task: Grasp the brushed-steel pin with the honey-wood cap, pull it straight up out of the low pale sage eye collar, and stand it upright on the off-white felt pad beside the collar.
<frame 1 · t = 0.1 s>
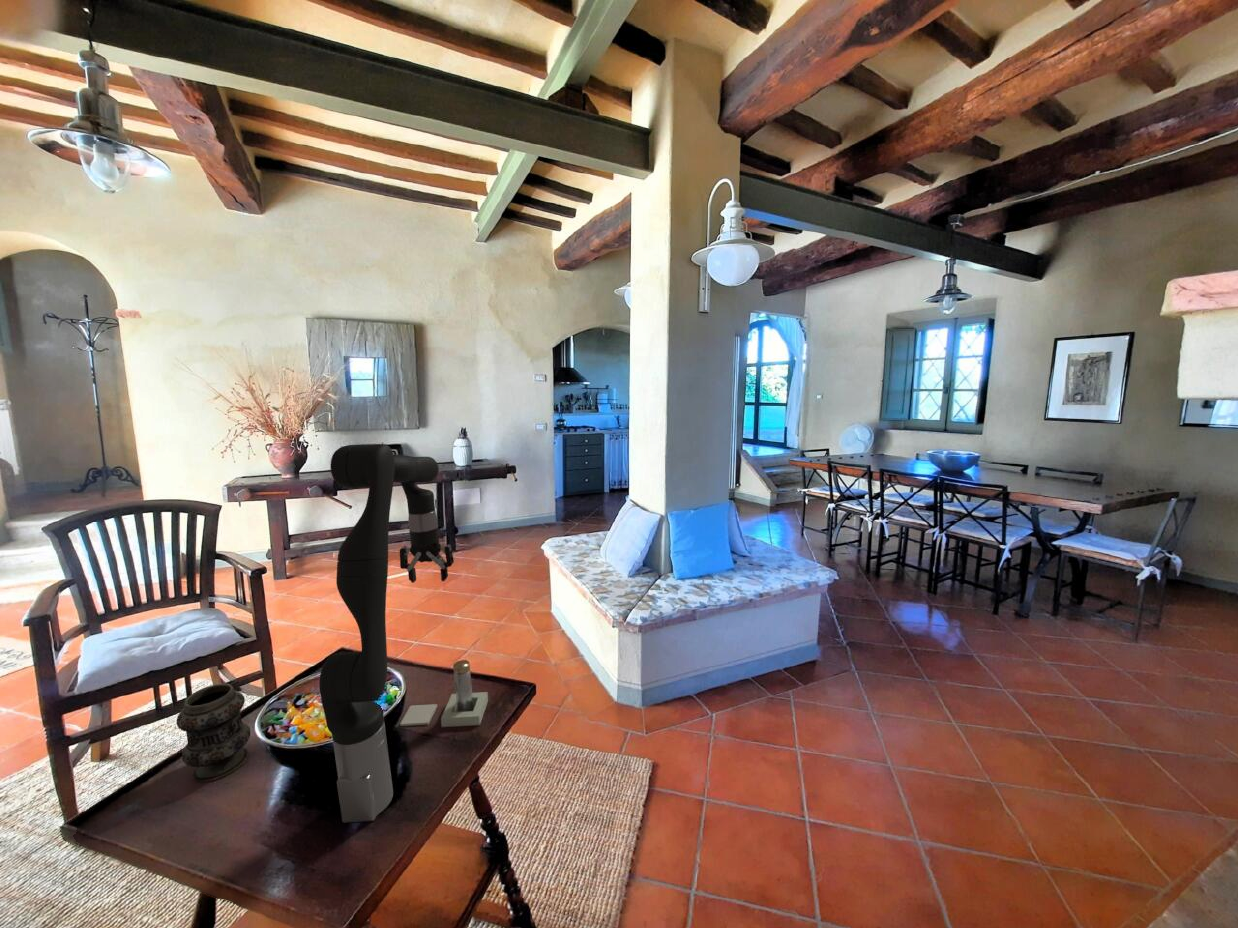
hand: (429, 580, 139), 29 cm above the table, fingers open, 8 cm apart
felt pad: (419, 715, 125), on the table
steel pin: (463, 689, 125), in the eye collar
apothecary jar: (221, 765, 111), on the table
coffee mug: (370, 716, 126), on the table
eye collar: (465, 713, 126), on the table
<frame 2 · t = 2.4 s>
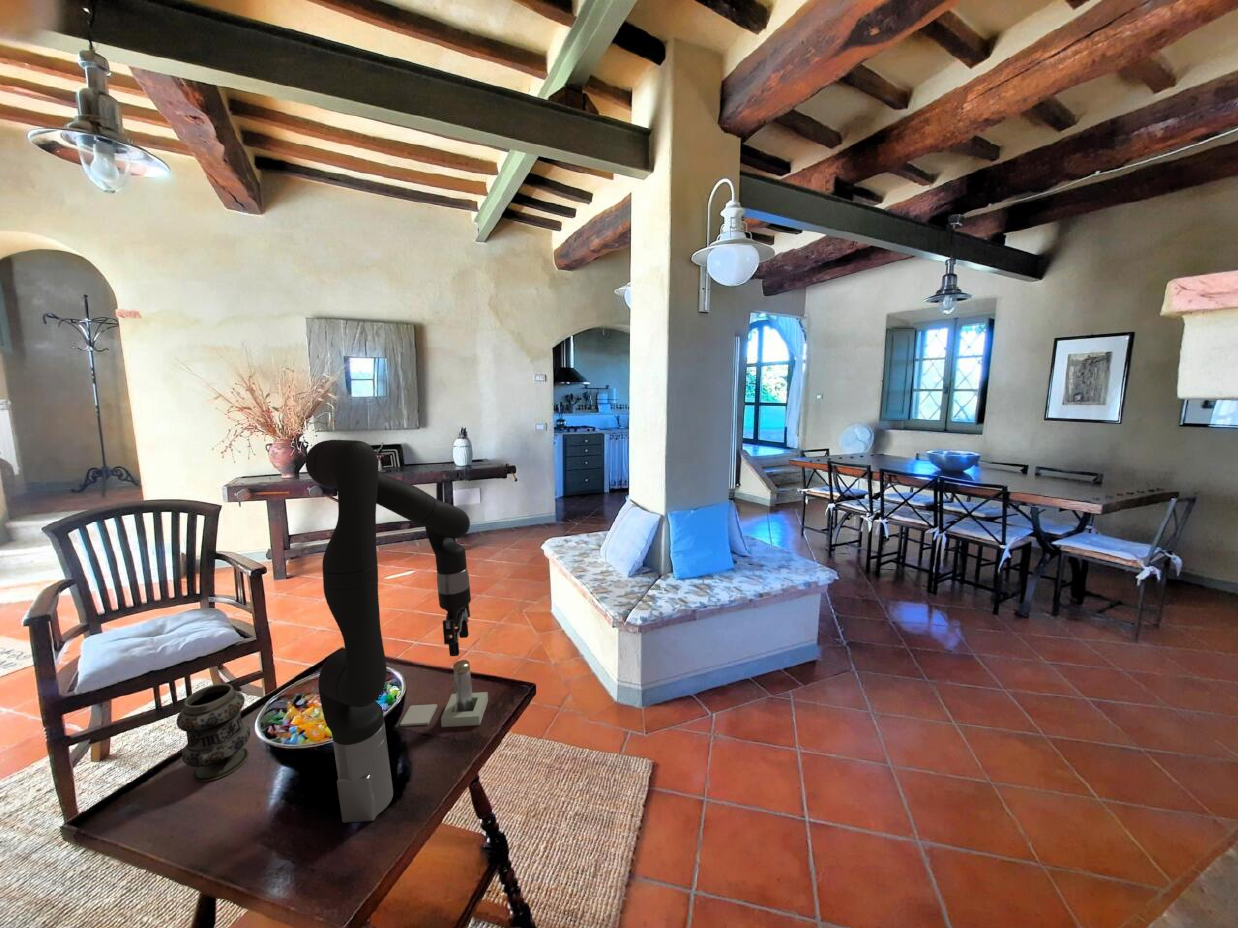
hand: (459, 645, 122), 19 cm above the table, fingers open, 8 cm apart
nothing on the table moved.
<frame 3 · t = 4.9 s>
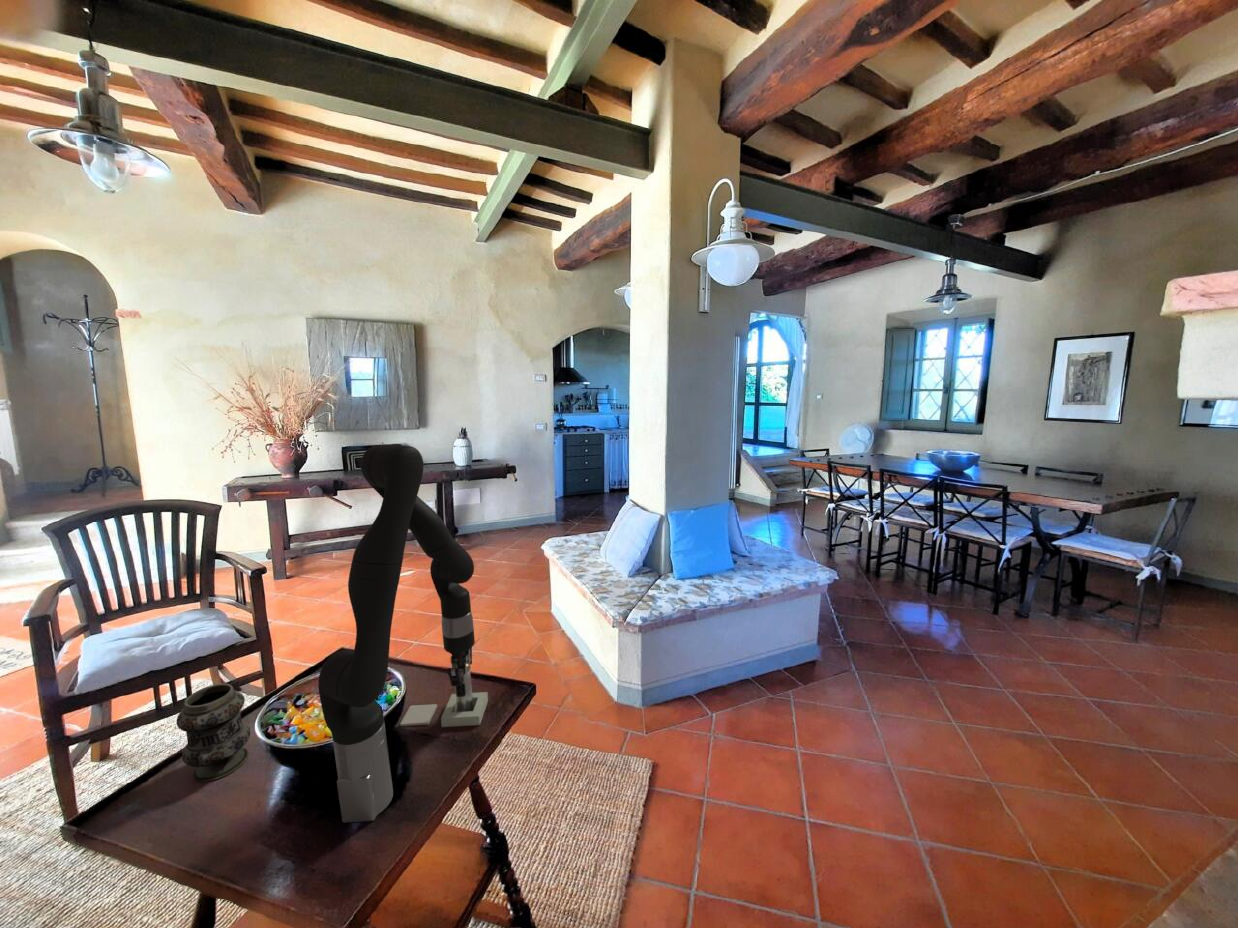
hand: (463, 689, 125), 7 cm above the table, fingers closed on steel pin, 4 cm apart
steel pin: (463, 688, 125), in the eye collar, touching gripper
everything else where it was.
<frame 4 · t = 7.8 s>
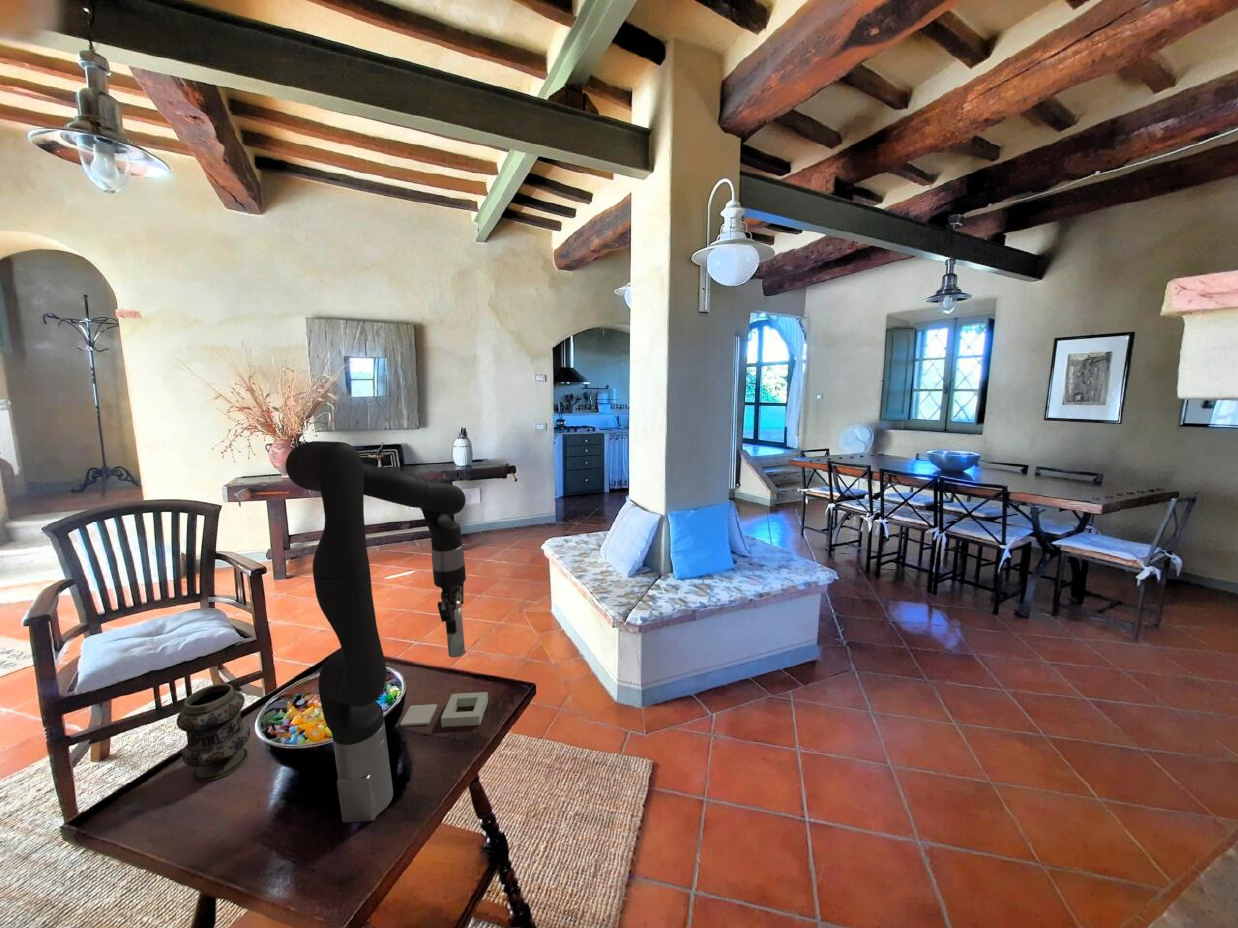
hand: (454, 628, 121), 24 cm above the table, fingers closed on steel pin, 4 cm apart
steel pin: (454, 627, 121), point 24 cm above the table, touching gripper
everything else where it was.
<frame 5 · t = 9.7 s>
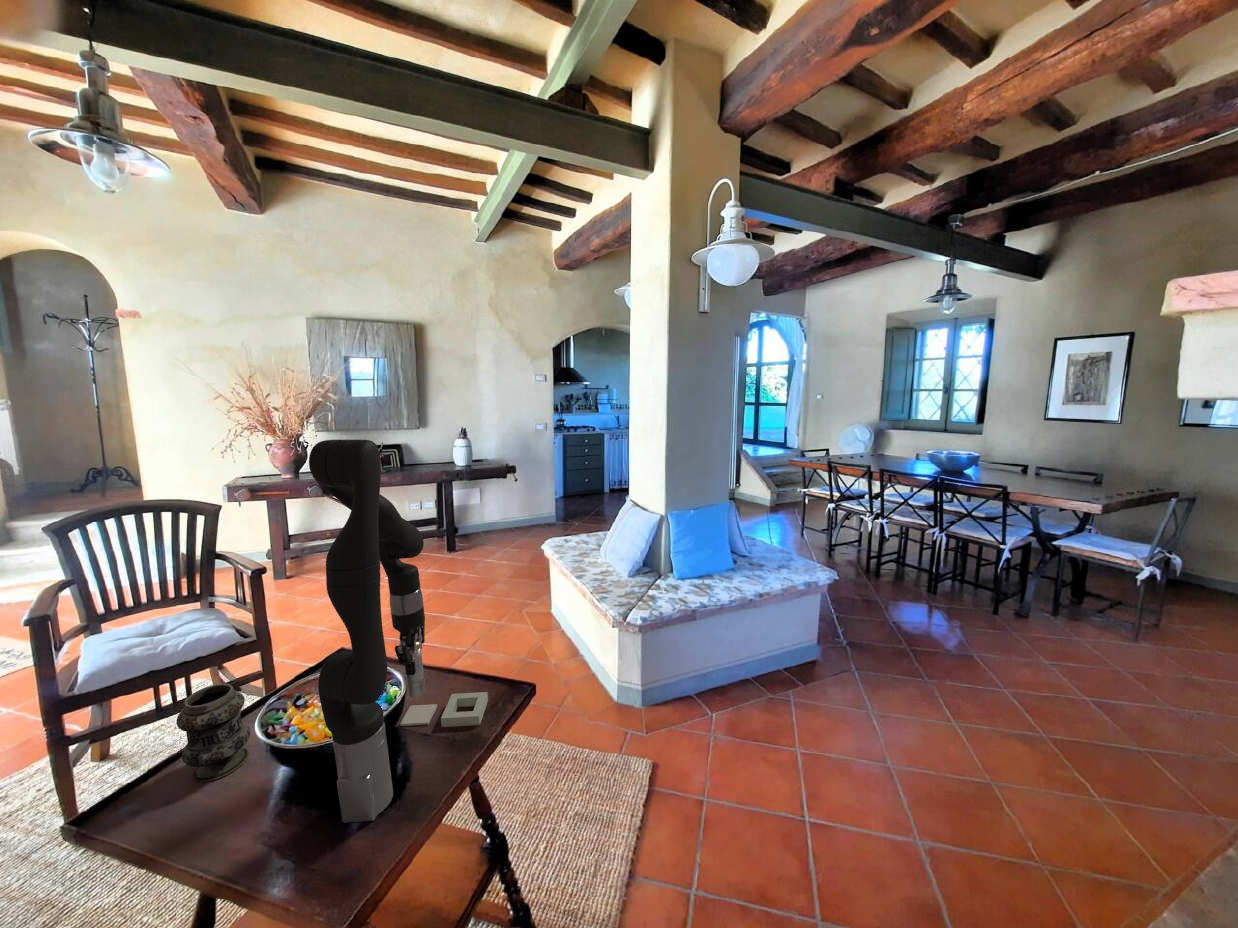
hand: (414, 668, 123), 13 cm above the table, fingers closed on steel pin, 4 cm apart
steel pin: (414, 667, 123), point 14 cm above the table, touching gripper
everything else where it was.
when the fingers open (8 cm above the table, at t = 11.1 s): steel pin stays where it is, resting on felt pad.
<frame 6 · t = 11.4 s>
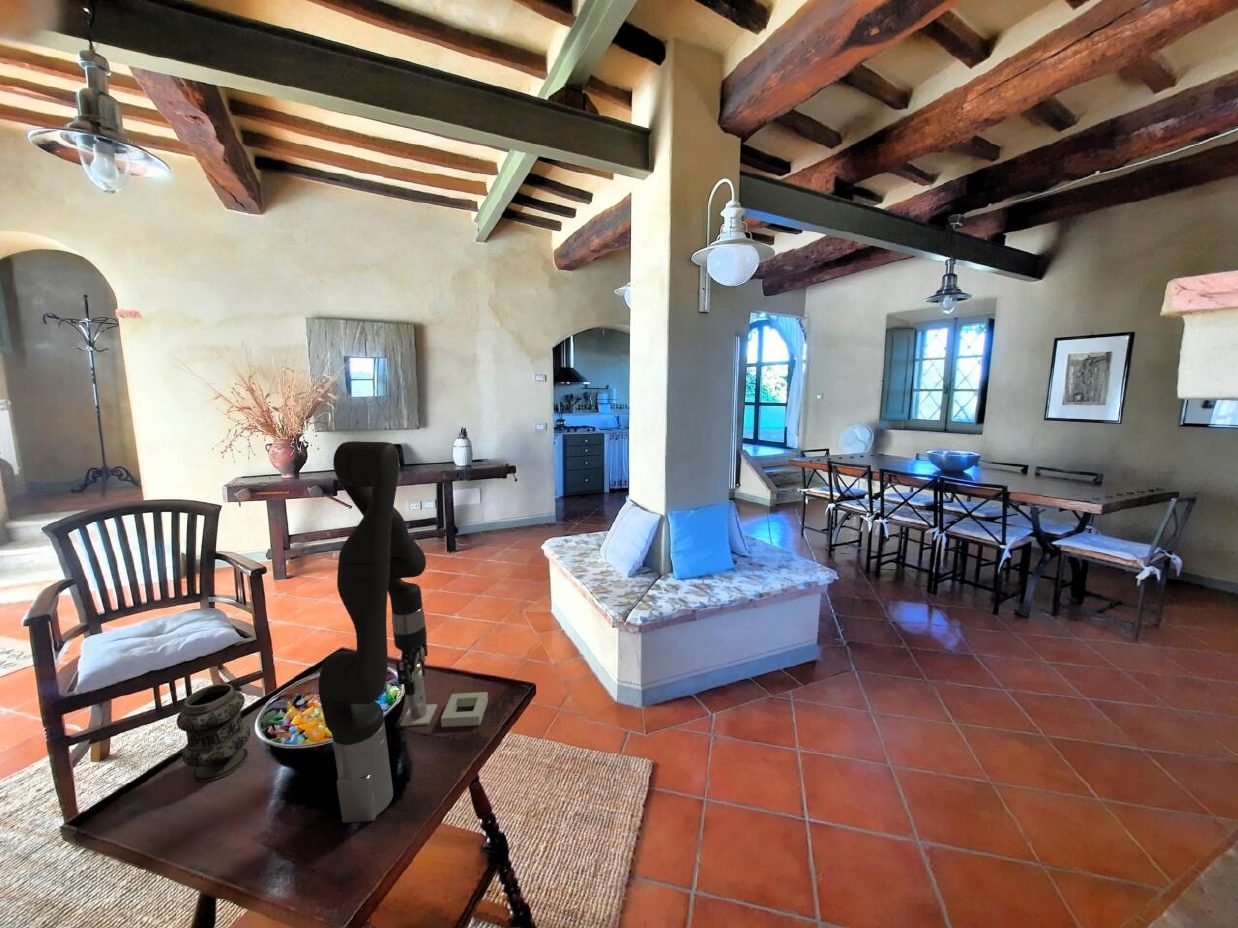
hand: (415, 684, 124), 9 cm above the table, fingers open, 7 cm apart
steel pin: (415, 689, 124), on the felt pad, point 8 cm above the table
everything else where it was.
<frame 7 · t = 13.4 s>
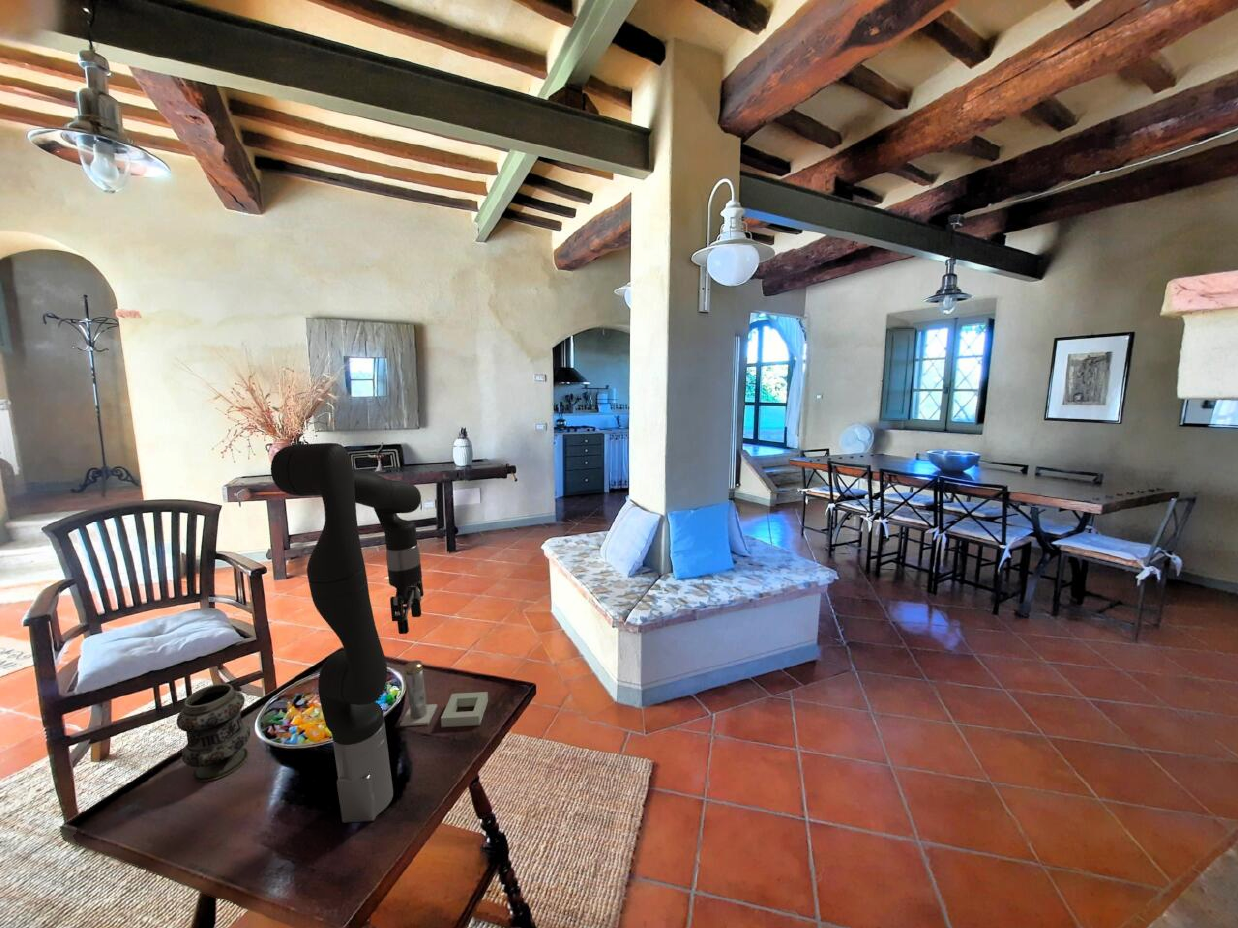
hand: (410, 624, 121), 25 cm above the table, fingers open, 8 cm apart
nothing on the table moved.
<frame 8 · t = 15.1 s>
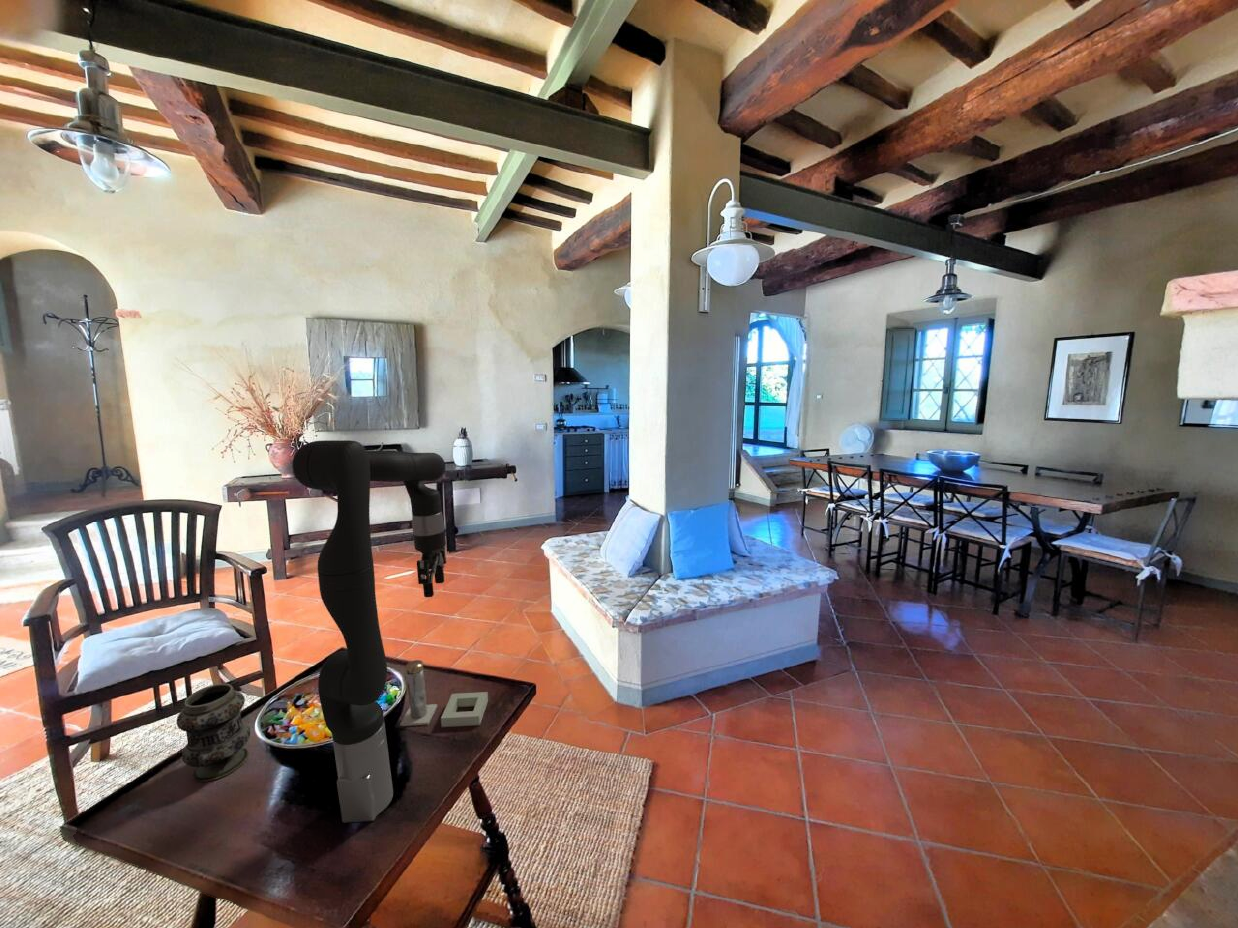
hand: (434, 589, 126), 32 cm above the table, fingers open, 8 cm apart
nothing on the table moved.
at the end: steel pin 0.0 cm off-centre on the felt pad, point 7.6 cm above the felt pad's base; steel pin tilted 1°; the gripper is holding nothing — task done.
